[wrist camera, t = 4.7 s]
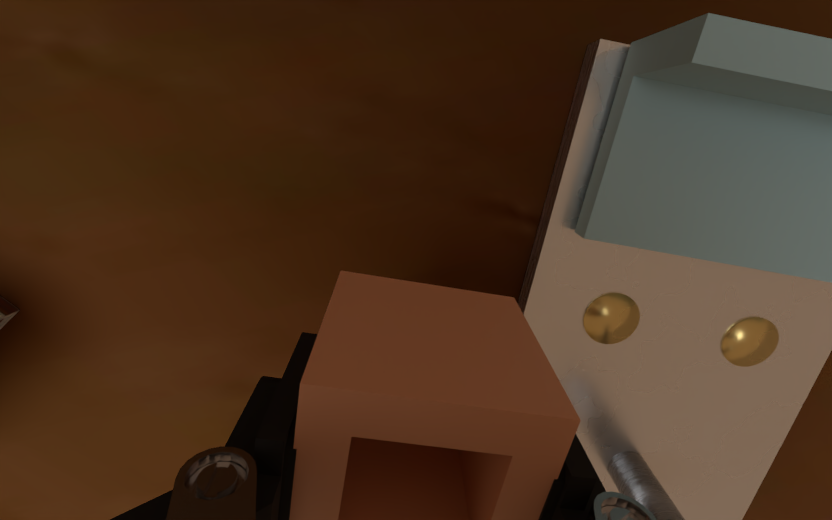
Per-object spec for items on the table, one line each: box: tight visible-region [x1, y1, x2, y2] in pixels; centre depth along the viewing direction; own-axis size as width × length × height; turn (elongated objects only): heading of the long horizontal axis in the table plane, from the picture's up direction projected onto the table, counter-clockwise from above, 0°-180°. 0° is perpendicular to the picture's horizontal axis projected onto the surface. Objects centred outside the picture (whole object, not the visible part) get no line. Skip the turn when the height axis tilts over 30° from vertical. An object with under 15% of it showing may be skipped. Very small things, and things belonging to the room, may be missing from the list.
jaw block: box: [289, 271, 581, 520], centre depth 11 cm, size 5×5×5 cm
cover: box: [575, 13, 832, 283], centre depth 15 cm, size 7×12×4 cm, turn 80°
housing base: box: [517, 39, 832, 520], centre depth 16 cm, size 22×14×8 cm, turn 170°
